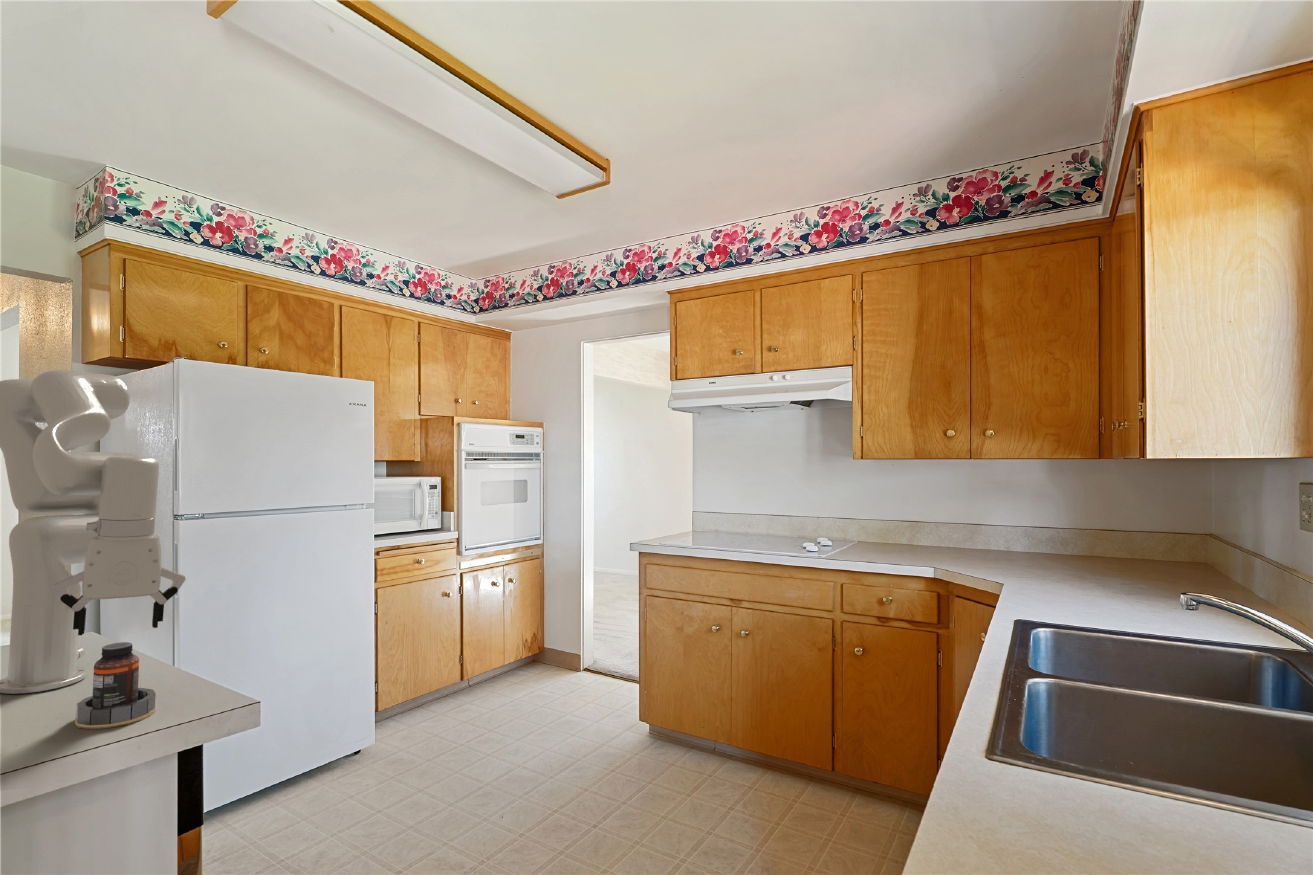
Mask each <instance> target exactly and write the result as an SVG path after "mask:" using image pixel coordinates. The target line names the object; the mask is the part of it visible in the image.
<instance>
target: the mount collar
mask: <svg viewBox="0 0 1313 875" xmlns="http://www.w3.org/2000/svg"><path fill="white" fill-rule="evenodd" d="M92 699H93V695H91V696H87V697H85V698H83V699H82V700H81V701H78V702H77V703H76V710H75V711H76V714H75V719H74V726H75V727H76V728H78V729H81V730H105V729H113V728H119V727H123V726H127V725H130V724H131V725H132V724H134V723H137V722H140V721H142V720H143V721H144V720H145V719H147V718H149V717H151V716H152V715H153V714H155V712H156V692H155V690H154V689H152V688H146V687H138V701H135V702H133V703H130V704H125V705H120V706H115V707H105V708H93V707H92Z"/></svg>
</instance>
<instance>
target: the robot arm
mask: <svg viewBox="0 0 1313 875" xmlns="http://www.w3.org/2000/svg"><path fill="white" fill-rule="evenodd" d="M130 403H131V393H130V390H129V388H128V386H127V384H126V383H125V382H124V381H123V380H122V379H121V378H119V377H117V376H115V375H112V374H111V375H110V374H103V373H95V372H83V371H75V370H64V369H57V370H56V369H55V370H49V371H45V372H42V373H40V374H39V375H37V376H36V377H34V379H30V378H29V379H27V378H26V379H25V378H16V379H15V378H14V379H13V378H11V379H3V380H0V450H1V452H2V454H3V459H4V464H5V470H6V475H7V479H8V485H9V490H10V491H9V492H10V495H11V496H10V497H11V499H12V503H13V505H14V507H15V509H16V510H17V511H18V512H20V513H21V514H23V515H24V514H25V515H31V516H34V515H35V517H31V518H28V519H24V520H23V521H20V522H18V523H17V524H16V525H14V527H13V528H12V529H11V531H10V533H9V537H8V538H9V539H8V547H9V552H10V559H11V560H10V561H11V566H12V602H11V603H12V604H11V616H10V618H11V619H10V630H9V632H10V635H9V649H8V650H9V651H8V663H7V664H8V666H7V668H8V669H7V676H5V677H3V678H1V679H0V694H8V695H10V694H12V695H15V694H31V693H39V692H45V691H51V690H54V689H60V688H62V687H67V686H70V685H73V684H76V683H78V682H80V681H82V680H83V679H85V678H86V677H87V671H88V670H87V669H86V668H84V667H81V666H77V665H78V664H77V661H78V659H81V658H82V657H84V655H85V654H86V650H85V649H84V648H81V647H79V648H78V645H79V636H83V635H84V634H85V630H86V618H87V607H86V605H88V603H90V602H91V601H92V600H112V599H113V600H114V599H125V598H135V597H136V598H137V597H148V596H150V598H152V599H153V600H154V602H153V606H152V618H151V619H152V620H151V621H152V622H151V627H152V628H153V629H158V627H159V626H158V625H159V623H160V622H163V621H164V610H165V605H166V603H167V602H168V601H169V600H170V599H172V597H174V596H175V595H176V594H177V593H178V592H179V590H180V588H181V587H182V585H183V584H184V583H185V581H186V576H185V575H184V574H180V573H178V572H175V571H173V570H170V569H168V568H164V567H162V548H161V547H162V546H161V540H160V536H159V535H157V534H155V526H156V513H157V512H156V511H157V500H158V498H157V497H158V485H159V475H160V474H159V473H160V472H159V471H160V470H159V469H160V465H159V461H158V460H157V459H155V458H153V457H150V456H144V455H143V456H142V455H139V454H137V453H132V452H109V451H73V450H77V449H80V448H83V447H87V446H90V445H92V444H94V443H97V442H98V441H100V440H102V439H103V438H104V437H105V436H107V434H108V433H109V431H110V429H111V426H112V425H111V424H112V423H111V420H114V419H117V418H119V417H121V416H123V415H124V413H126V411H128V409H129V406H130ZM36 423H44V424H47V426H46V427H45V428H41V427H39V426H37V424H36ZM82 563H84V569H83V571H81V572H79V573H77V574H74V575H73V574H72V573H71V572H69V570H67V566H69V565H75V564H82ZM162 578H165V579H168V580H171V581H172V582H173V583H172V584H171V585H170V587H168V588H167V589H165V591H161V590H160V587H161V579H162ZM81 582H82V583H81ZM80 583H81V585H82V586H81V585H80ZM81 592H82V593H81ZM81 594H82V595H81Z"/></svg>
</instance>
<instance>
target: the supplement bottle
mask: <svg viewBox="0 0 1313 875" xmlns="http://www.w3.org/2000/svg"><path fill="white" fill-rule="evenodd" d="M139 670H140V658H139V657H138V656H137V655H136V654H134V653H133V643H132V642H130V641H129V642H128V641H127V642H126V641H125V642H124V641H121V642H115V643H114V642H113V643H109V644H106V645H103V646H102V647H101V657H100V659H98V660H96V662H95V663H94V665H93V678H92V679H93V680H92V681H93V682H92V696H93V699H92V707H93V708H105V707H115V706H120V705H125V704H130V703H133V702H135V701H138V688H139V677H140V675H139V673H140V671H139Z"/></svg>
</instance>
